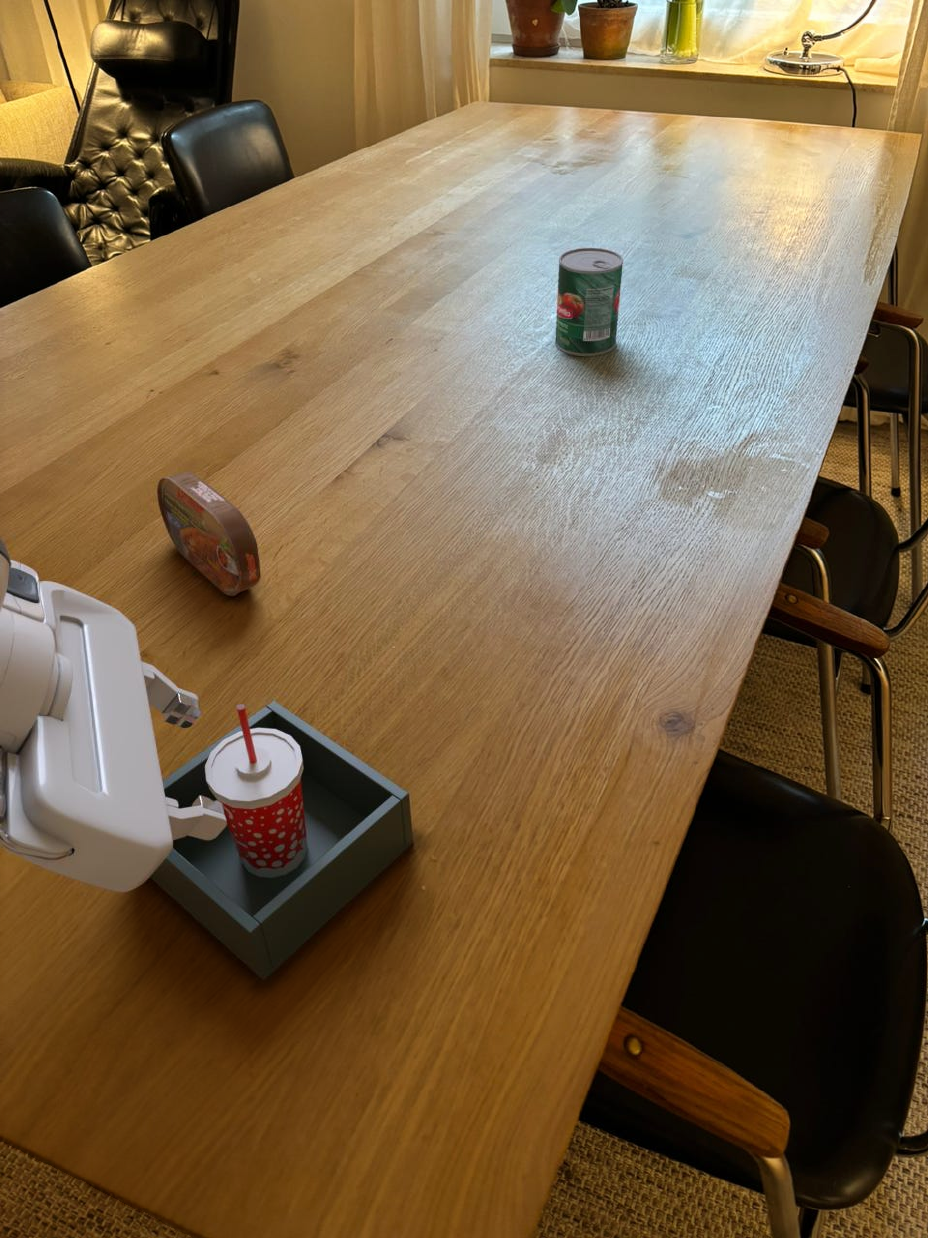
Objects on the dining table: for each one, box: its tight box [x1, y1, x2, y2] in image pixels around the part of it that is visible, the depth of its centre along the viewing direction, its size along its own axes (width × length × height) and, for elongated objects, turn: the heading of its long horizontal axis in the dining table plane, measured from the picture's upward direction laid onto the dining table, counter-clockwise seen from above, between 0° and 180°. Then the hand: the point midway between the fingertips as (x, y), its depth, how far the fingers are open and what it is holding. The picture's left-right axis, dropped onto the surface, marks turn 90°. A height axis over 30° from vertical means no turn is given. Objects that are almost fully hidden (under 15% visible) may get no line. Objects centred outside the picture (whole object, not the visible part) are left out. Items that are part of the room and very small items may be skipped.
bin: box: [149, 700, 414, 981], centre depth 67 cm, size 14×14×5 cm
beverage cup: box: [205, 703, 308, 878], centre depth 64 cm, size 6×6×14 cm
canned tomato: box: [554, 247, 624, 357], centre depth 125 cm, size 8×8×11 cm
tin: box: [156, 471, 262, 597], centre depth 91 cm, size 15×3×8 cm, turn 40°
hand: (206, 764), depth 60 cm, fingers open, 8 cm apart
